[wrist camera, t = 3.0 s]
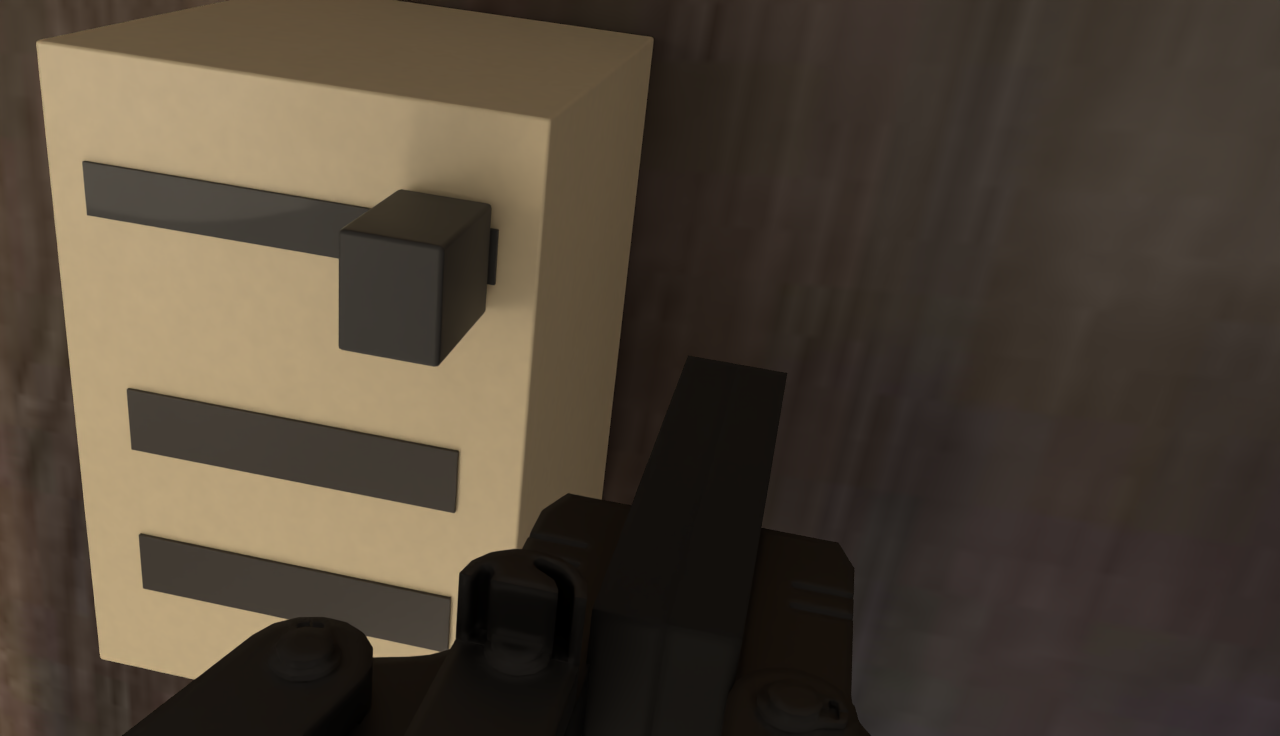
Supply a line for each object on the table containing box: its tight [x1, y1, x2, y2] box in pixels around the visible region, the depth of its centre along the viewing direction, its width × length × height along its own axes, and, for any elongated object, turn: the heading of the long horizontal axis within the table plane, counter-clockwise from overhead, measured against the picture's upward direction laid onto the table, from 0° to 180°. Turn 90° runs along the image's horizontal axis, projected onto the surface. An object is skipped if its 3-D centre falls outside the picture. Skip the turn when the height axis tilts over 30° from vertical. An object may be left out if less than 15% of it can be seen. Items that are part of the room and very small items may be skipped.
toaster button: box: [339, 189, 492, 367], centre depth 22 cm, size 2×2×3 cm
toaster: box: [36, 0, 654, 679], centre depth 32 cm, size 16×11×12 cm
